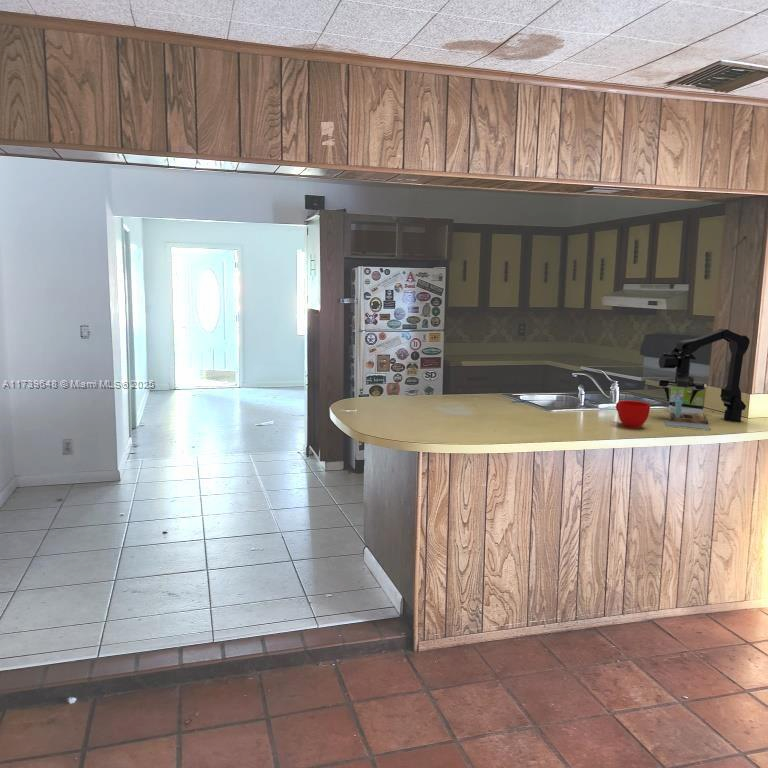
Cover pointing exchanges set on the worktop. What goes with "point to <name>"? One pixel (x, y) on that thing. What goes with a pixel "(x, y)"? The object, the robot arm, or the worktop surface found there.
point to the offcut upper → (698, 416)
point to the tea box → (687, 399)
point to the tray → (688, 419)
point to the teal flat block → (678, 409)
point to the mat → (687, 425)
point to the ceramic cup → (632, 413)
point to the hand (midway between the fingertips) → (679, 402)
